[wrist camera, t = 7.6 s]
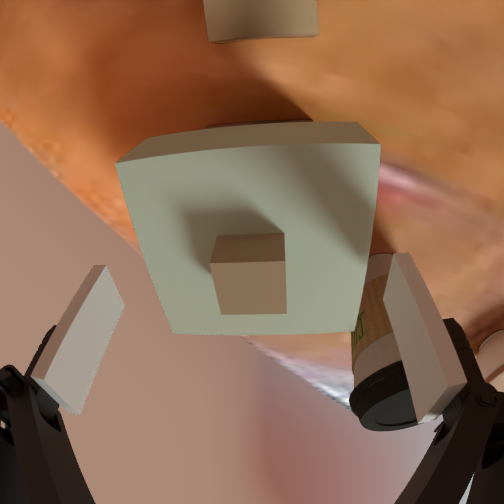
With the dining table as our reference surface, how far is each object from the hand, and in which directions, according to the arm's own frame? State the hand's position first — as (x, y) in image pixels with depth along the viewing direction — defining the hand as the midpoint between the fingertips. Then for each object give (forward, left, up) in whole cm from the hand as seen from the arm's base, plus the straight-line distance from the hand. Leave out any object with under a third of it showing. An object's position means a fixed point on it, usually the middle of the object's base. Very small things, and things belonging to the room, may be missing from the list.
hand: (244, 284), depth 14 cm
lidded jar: (-36, +28, -14) cm, 48 cm away
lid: (0, 0, -5) cm, 5 cm away
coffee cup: (-11, +12, -14) cm, 21 cm away
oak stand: (-1, -14, -13) cm, 20 cm away
